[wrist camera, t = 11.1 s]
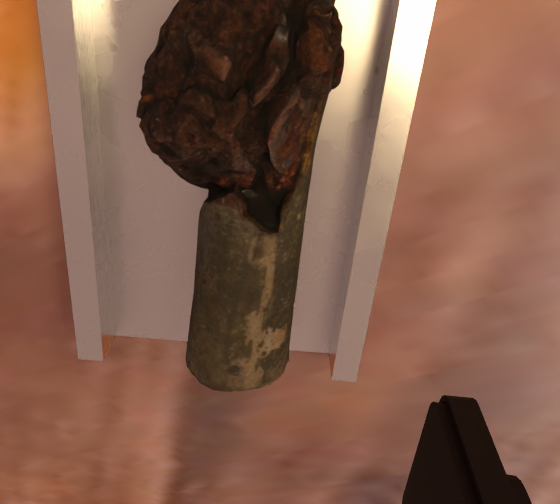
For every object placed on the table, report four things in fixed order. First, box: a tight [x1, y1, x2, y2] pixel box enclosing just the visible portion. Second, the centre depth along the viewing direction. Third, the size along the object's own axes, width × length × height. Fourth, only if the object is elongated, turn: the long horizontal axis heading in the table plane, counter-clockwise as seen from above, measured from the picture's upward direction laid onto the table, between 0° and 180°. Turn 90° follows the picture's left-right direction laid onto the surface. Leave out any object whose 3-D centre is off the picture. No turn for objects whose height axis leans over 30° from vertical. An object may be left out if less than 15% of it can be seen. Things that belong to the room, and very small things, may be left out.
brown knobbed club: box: [136, 0, 344, 392], centre depth 21 cm, size 18×7×6 cm, turn 173°
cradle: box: [37, 0, 436, 382], centre depth 22 cm, size 20×13×3 cm
